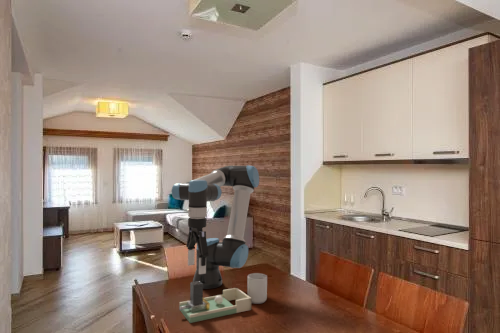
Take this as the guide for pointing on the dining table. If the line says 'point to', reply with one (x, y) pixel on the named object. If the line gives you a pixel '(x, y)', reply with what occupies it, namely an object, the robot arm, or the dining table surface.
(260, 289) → the mug
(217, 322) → the dining table surface
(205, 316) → the pitch
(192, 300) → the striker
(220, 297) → the ball
